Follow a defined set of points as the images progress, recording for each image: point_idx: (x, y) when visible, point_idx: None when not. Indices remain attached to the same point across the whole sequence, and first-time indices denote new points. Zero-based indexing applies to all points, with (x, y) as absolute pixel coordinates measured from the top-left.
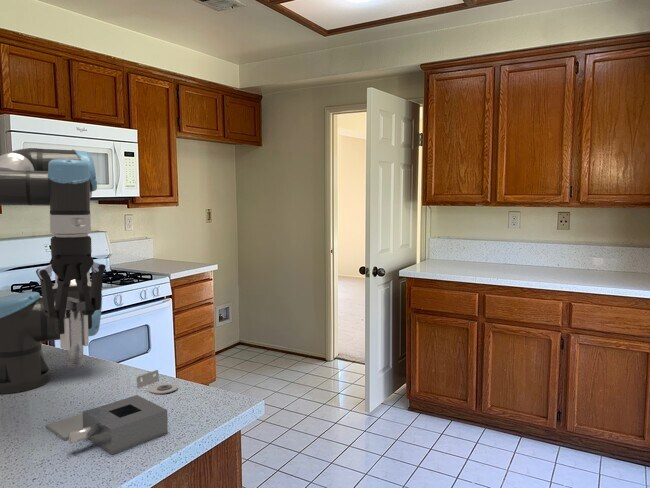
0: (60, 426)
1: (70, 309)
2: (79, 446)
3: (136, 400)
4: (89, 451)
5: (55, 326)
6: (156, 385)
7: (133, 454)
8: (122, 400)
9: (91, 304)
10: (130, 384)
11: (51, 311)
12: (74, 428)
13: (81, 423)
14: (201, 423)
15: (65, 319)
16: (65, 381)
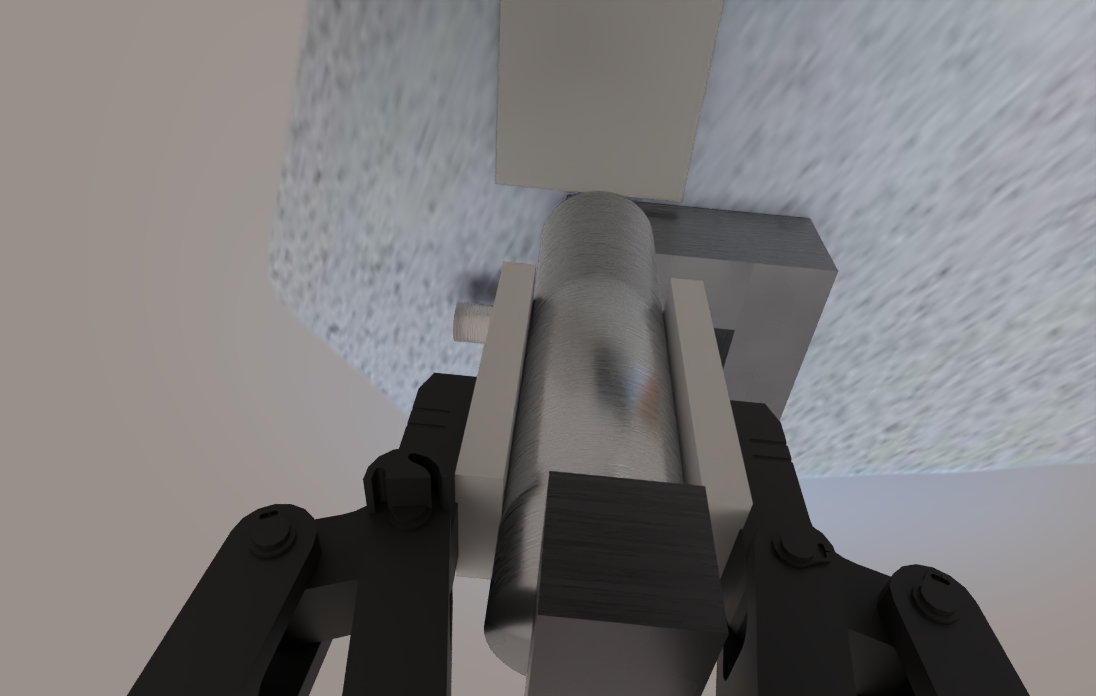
0: (535, 62)
1: (527, 657)
2: (512, 260)
3: (782, 318)
4: None
5: (408, 427)
6: None
7: None
8: (750, 273)
9: (889, 648)
10: None
11: (273, 666)
12: (565, 135)
13: (613, 111)
14: (862, 428)
15: (462, 569)
16: None
